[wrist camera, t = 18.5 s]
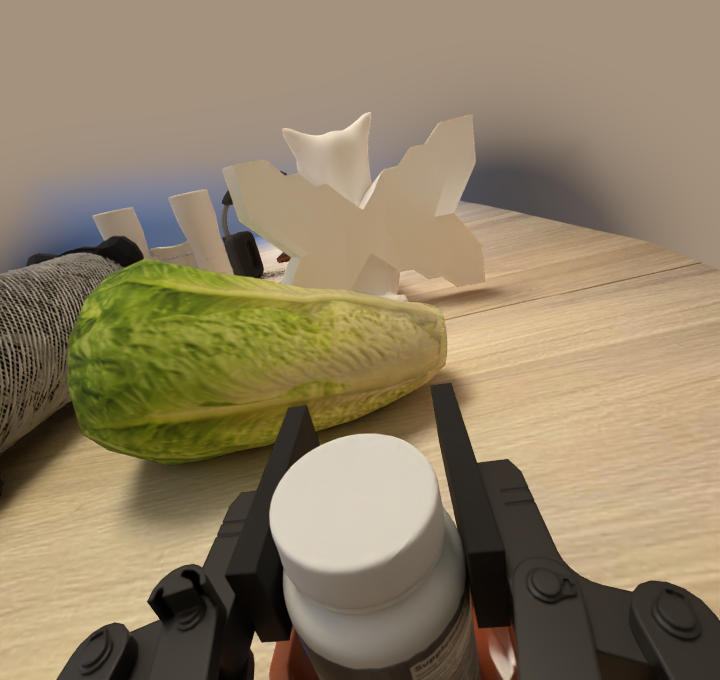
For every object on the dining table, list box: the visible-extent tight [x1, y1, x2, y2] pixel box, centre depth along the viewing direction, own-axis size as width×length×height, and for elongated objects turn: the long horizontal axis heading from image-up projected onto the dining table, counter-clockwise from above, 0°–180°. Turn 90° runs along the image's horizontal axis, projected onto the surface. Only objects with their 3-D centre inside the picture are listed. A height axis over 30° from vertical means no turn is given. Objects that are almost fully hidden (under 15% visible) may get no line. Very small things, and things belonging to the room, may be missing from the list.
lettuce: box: [67, 259, 447, 465], centre depth 26 cm, size 14×24×14 cm
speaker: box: [0, 236, 144, 496], centre depth 36 cm, size 15×28×15 cm, turn 176°
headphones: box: [222, 171, 287, 278], centre depth 74 cm, size 22×6×20 cm, turn 79°
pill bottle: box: [269, 434, 481, 680], centre depth 10 cm, size 5×5×8 cm
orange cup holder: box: [269, 586, 518, 680], centre depth 12 cm, size 8×8×3 cm
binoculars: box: [92, 189, 234, 275], centre depth 57 cm, size 17×5×18 cm, turn 88°
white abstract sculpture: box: [222, 112, 485, 302], centre depth 44 cm, size 25×21×21 cm
